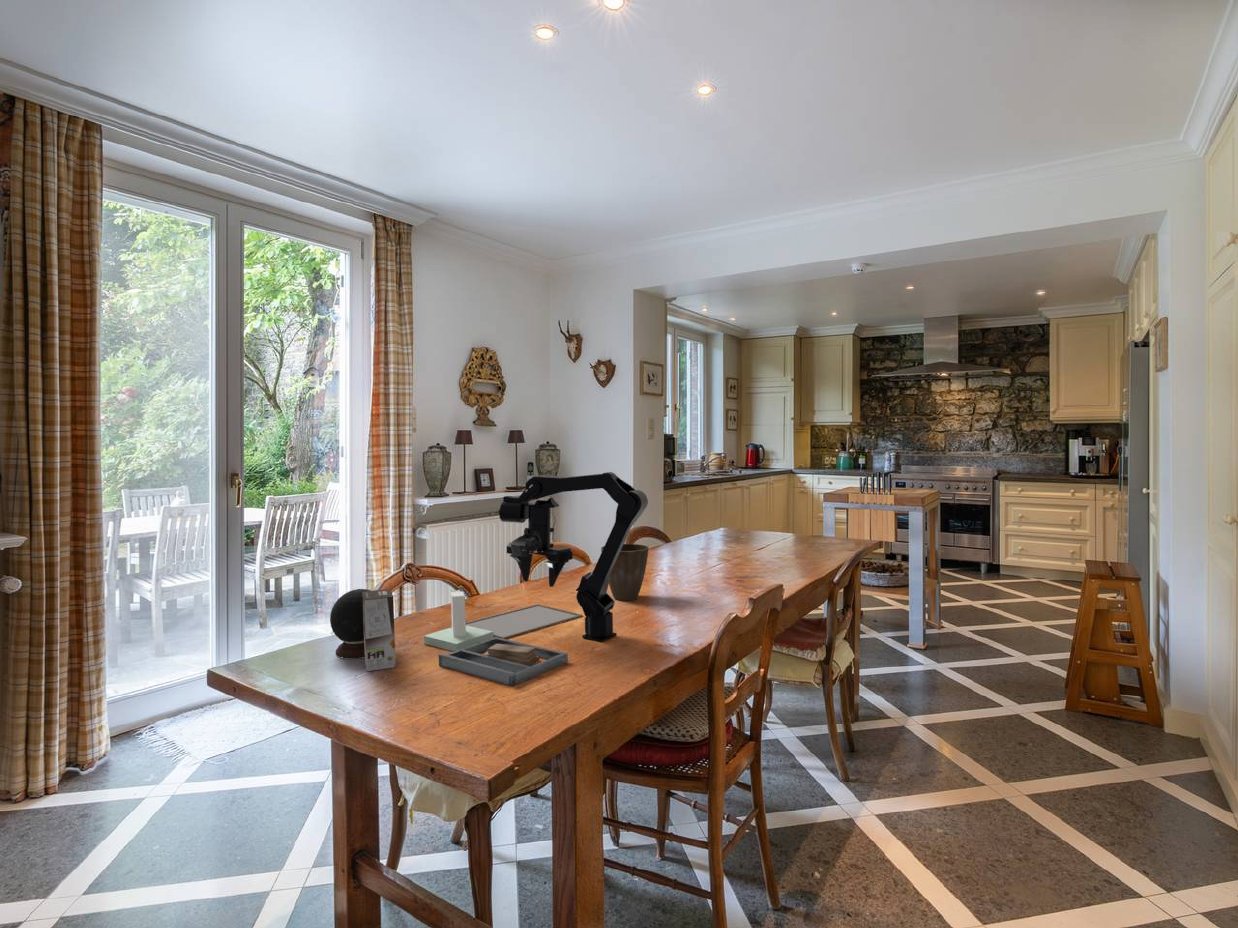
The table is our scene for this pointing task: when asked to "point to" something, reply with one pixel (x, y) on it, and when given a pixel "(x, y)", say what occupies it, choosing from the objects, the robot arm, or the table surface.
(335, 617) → the black sphere with base
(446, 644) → the green board
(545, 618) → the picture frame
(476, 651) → the offcut tray
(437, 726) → the table surface
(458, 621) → the tall white cuboid
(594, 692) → the table surface
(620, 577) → the plant pot
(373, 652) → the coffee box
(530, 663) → the offcut stack
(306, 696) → the table surface
